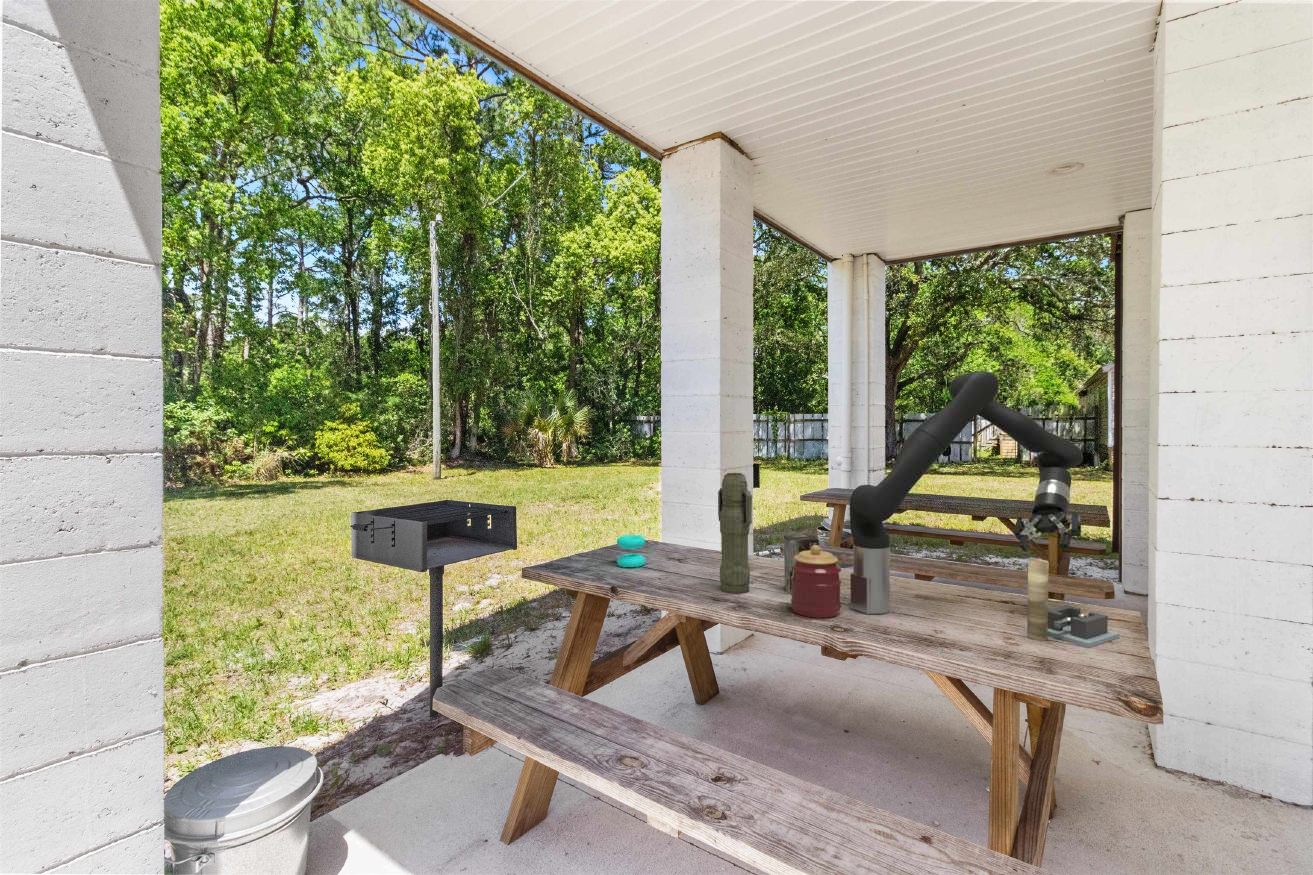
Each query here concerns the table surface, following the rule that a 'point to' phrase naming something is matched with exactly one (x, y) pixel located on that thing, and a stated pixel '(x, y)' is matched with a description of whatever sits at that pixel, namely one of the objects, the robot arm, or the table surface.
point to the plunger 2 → (1083, 615)
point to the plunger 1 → (1063, 622)
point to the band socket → (1080, 627)
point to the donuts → (631, 558)
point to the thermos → (734, 533)
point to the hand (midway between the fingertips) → (1043, 548)
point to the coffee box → (795, 553)
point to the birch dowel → (1037, 599)
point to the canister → (816, 584)
